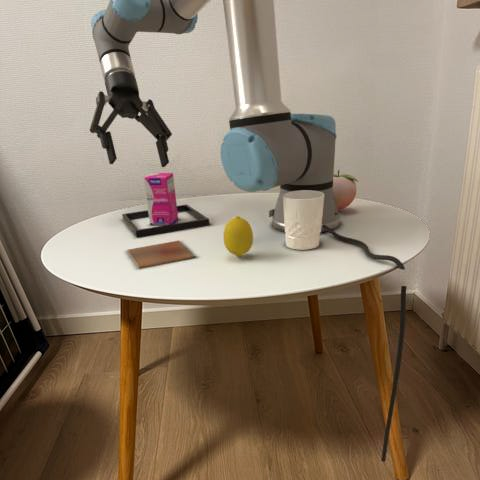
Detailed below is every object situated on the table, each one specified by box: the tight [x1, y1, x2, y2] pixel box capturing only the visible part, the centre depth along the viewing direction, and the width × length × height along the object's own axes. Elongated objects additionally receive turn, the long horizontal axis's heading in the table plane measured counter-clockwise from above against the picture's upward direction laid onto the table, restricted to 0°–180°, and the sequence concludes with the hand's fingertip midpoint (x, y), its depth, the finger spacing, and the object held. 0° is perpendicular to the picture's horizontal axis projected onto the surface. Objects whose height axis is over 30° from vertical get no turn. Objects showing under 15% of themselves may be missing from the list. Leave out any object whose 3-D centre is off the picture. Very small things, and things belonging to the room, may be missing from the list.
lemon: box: [223, 215, 254, 259], centre depth 81 cm, size 6×6×8 cm
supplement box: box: [142, 172, 179, 226], centre depth 105 cm, size 6×6×12 cm
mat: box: [127, 240, 196, 269], centre depth 86 cm, size 11×11×1 cm
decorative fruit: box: [333, 169, 359, 212], centre depth 105 cm, size 9×8×10 cm
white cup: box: [283, 190, 324, 251], centre depth 85 cm, size 8×8×10 cm
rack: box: [121, 204, 210, 238], centre depth 107 cm, size 18×18×2 cm
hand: (140, 163), depth 103 cm, fingers open, 13 cm apart
